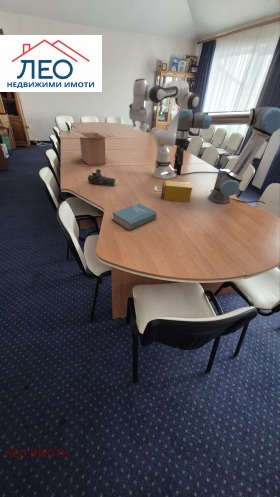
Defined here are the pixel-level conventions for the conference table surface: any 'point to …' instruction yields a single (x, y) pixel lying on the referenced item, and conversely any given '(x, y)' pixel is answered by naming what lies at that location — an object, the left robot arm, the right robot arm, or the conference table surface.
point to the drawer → (160, 191)
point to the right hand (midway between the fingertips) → (176, 172)
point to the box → (92, 146)
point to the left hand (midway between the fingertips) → (137, 127)
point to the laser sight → (100, 179)
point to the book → (134, 216)
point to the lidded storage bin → (177, 191)
